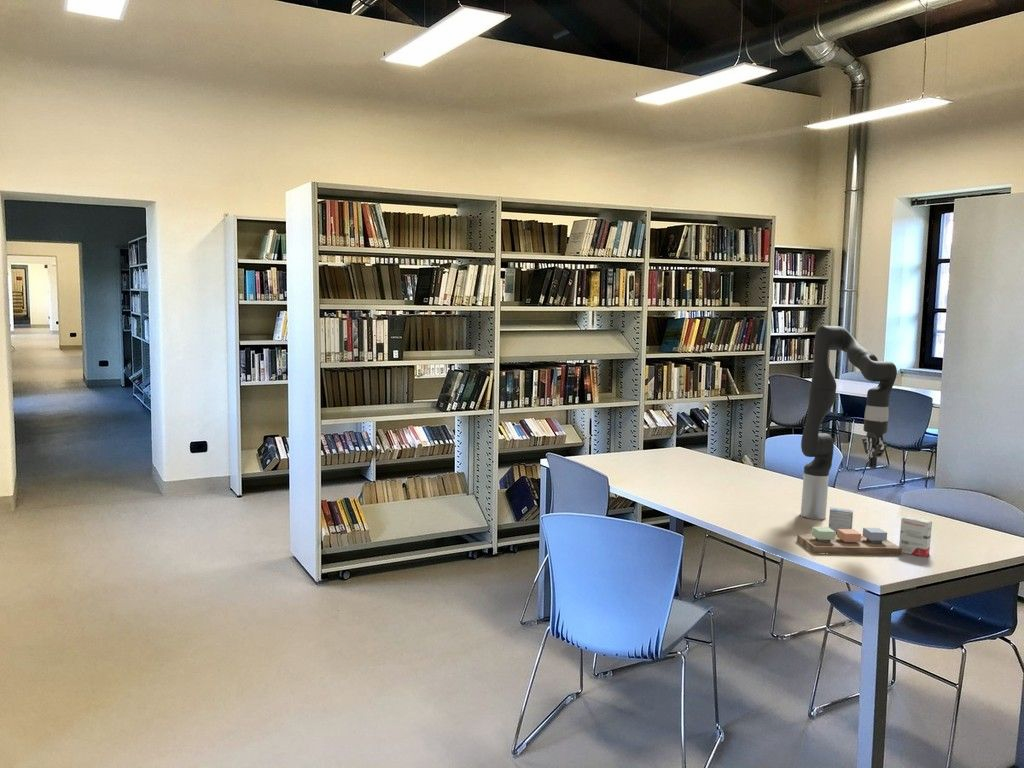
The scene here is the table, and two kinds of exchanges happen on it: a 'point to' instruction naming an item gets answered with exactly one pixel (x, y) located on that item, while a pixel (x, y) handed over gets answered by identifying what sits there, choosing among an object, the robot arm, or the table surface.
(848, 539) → the terracotta button
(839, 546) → the button board
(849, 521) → the medicine box
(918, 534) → the ink box
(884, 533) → the slate button
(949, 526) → the table surface
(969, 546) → the table surface
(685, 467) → the table surface
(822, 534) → the sage button
